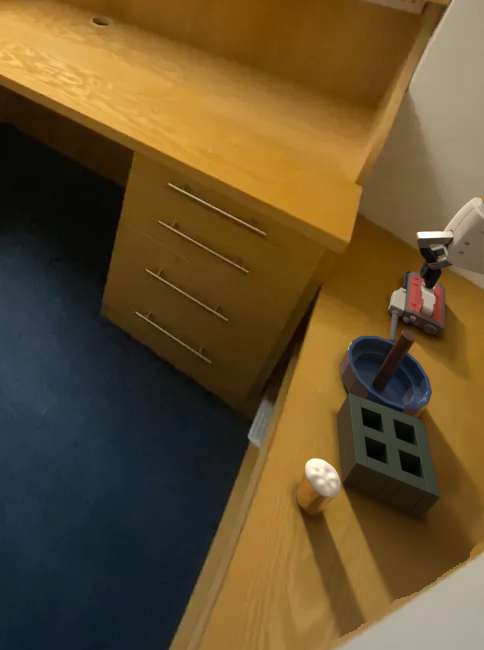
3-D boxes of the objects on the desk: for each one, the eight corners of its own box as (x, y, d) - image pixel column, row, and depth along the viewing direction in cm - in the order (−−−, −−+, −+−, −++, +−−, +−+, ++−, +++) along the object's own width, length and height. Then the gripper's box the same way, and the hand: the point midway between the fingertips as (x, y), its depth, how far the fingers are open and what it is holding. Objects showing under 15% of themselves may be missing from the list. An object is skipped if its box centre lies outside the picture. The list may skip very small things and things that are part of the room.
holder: (407, 442, 82) (424, 420, 79) (421, 518, 74) (440, 497, 71) (336, 414, 86) (348, 392, 82) (342, 484, 78) (356, 462, 74)
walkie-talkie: (392, 270, 111) (382, 343, 97) (400, 256, 108) (390, 329, 94) (442, 291, 106) (438, 371, 92) (450, 277, 104) (448, 357, 90)
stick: (383, 382, 90) (414, 332, 82) (385, 392, 88) (417, 342, 81) (371, 377, 91) (401, 327, 83) (372, 388, 89) (403, 338, 82)
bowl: (411, 368, 92) (422, 351, 90) (426, 439, 83) (439, 422, 80) (336, 342, 97) (345, 325, 94) (342, 407, 87) (352, 390, 84)
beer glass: (298, 525, 73) (317, 495, 68) (287, 480, 78) (304, 449, 73) (331, 531, 73) (352, 501, 68) (318, 485, 78) (337, 454, 73)
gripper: (591, 208, 66) (528, 291, 75) (434, 173, 72) (392, 253, 81) (622, 252, 60) (550, 337, 69) (448, 210, 66) (401, 293, 75)
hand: (465, 292), depth 75 cm, fingers open, 9 cm apart
